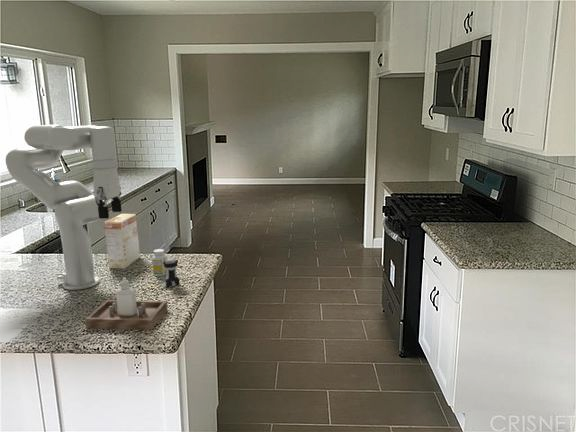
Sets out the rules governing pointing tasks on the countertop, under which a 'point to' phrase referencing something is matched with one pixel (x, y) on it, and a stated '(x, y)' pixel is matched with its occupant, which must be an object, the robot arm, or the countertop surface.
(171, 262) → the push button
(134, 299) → the eye dropper bottle
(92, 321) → the pin tray
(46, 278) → the countertop surface
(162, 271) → the supplement bottle
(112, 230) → the coffeecake box
